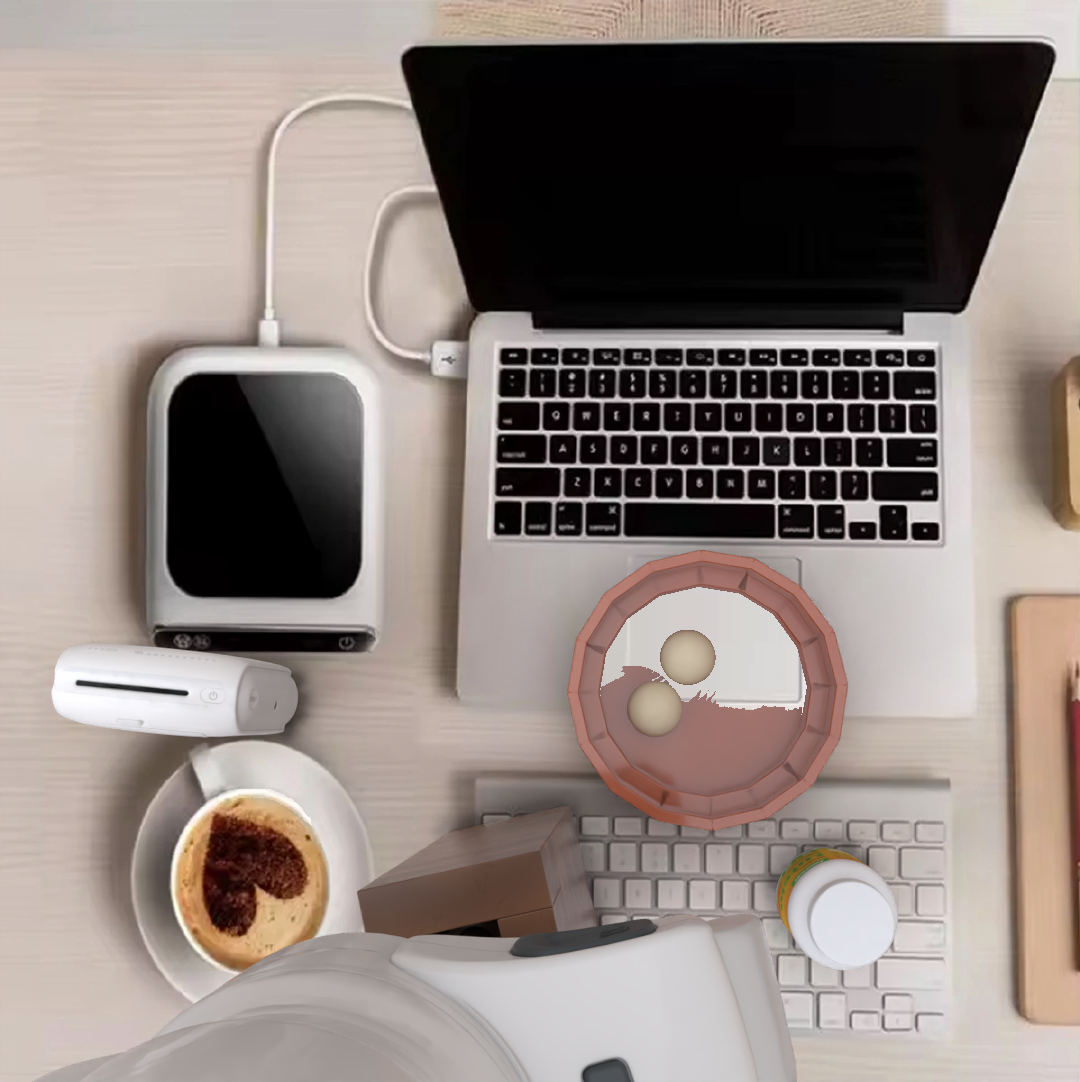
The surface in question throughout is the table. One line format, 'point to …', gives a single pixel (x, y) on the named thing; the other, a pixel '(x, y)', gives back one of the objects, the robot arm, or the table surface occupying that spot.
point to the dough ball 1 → (654, 708)
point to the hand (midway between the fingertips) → (436, 1016)
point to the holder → (487, 882)
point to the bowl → (708, 705)
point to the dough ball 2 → (687, 657)
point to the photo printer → (172, 691)
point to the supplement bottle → (837, 908)
